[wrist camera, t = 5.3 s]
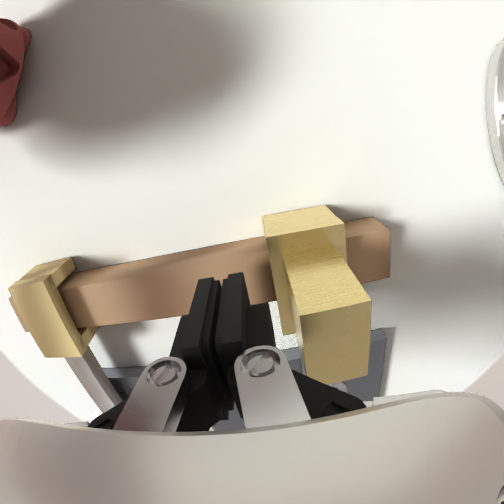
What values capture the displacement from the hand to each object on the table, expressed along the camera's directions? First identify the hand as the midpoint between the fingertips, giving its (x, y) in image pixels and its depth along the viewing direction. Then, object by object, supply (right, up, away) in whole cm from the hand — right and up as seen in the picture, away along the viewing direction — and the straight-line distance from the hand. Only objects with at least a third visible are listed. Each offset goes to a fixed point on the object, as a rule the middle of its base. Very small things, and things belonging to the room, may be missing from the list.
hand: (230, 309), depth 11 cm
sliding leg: (+4, -2, +5) cm, 7 cm away
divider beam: (-2, -3, +6) cm, 7 cm away
